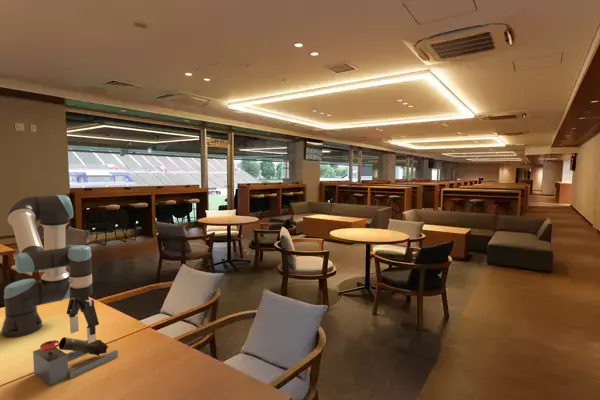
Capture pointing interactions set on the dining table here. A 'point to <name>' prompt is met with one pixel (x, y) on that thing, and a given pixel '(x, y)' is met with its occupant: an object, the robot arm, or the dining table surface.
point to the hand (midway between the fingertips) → (82, 336)
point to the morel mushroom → (83, 346)
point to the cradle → (62, 363)
